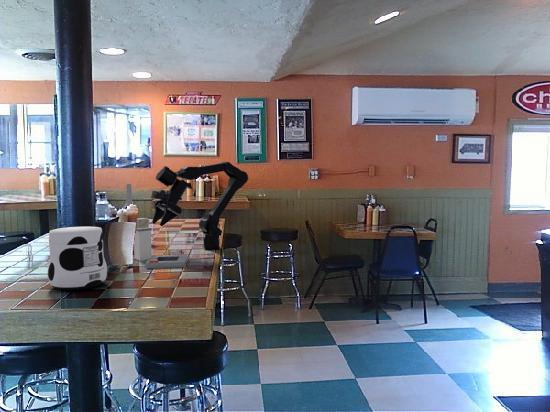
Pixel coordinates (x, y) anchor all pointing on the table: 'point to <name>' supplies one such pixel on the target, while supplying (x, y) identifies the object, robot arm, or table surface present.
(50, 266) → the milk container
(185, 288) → the table surface
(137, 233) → the plug
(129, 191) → the bottle
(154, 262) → the socket plate
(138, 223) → the skincare box
